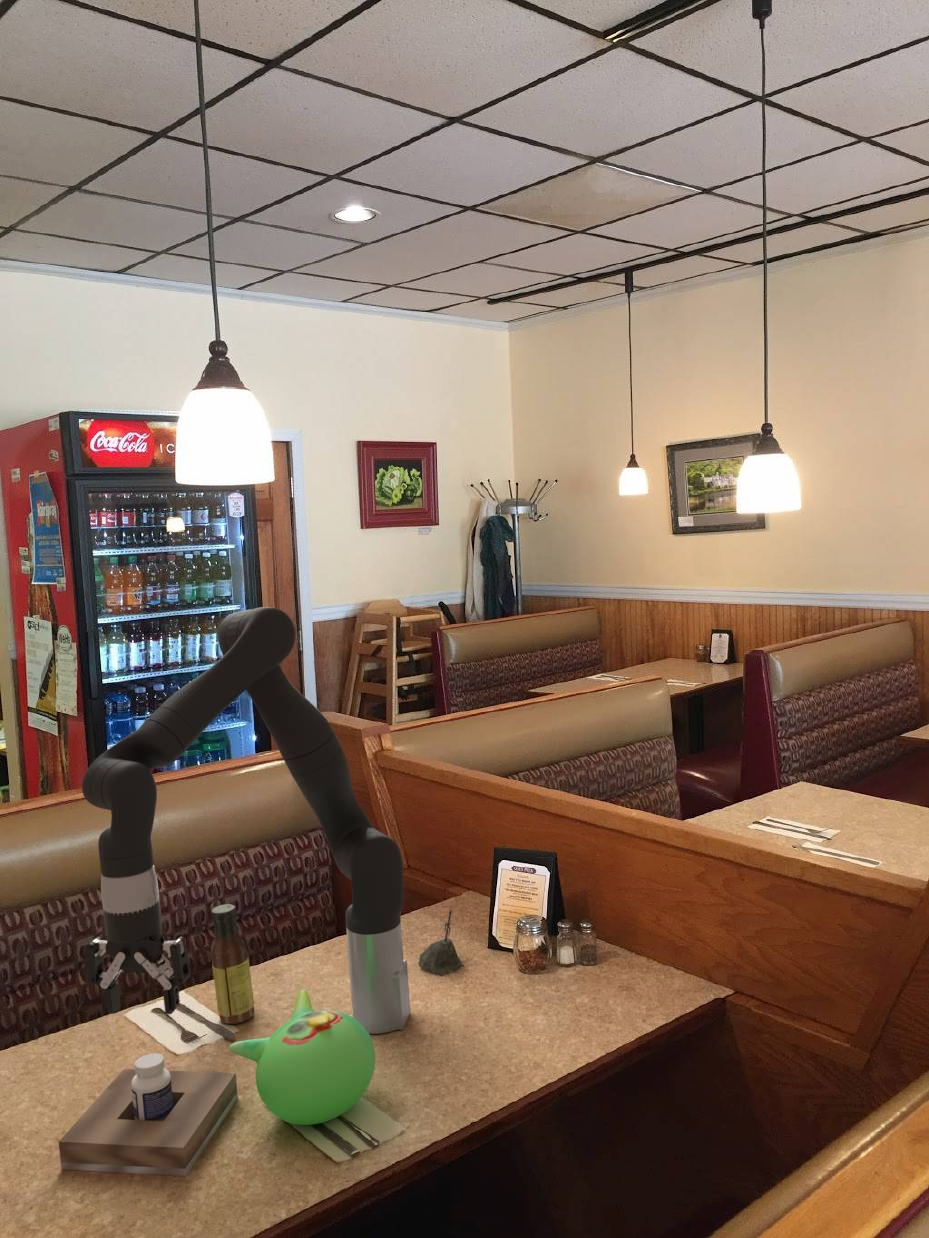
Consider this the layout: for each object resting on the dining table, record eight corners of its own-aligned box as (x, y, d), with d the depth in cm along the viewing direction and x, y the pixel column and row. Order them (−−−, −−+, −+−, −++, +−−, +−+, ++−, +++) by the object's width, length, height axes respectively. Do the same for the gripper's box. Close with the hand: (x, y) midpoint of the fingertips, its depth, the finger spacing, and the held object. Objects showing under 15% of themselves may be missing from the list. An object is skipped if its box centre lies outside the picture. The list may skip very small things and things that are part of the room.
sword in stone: (408, 962, 196) (406, 901, 195) (442, 952, 201) (441, 892, 200) (435, 980, 188) (433, 917, 187) (471, 969, 192) (469, 907, 191)
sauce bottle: (259, 1008, 181) (250, 900, 179) (248, 1026, 175) (239, 914, 173) (223, 1008, 182) (214, 901, 179) (211, 1026, 175) (201, 915, 173)
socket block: (237, 1098, 153) (235, 1072, 152) (186, 1176, 135) (183, 1147, 135) (126, 1093, 156) (123, 1068, 156) (61, 1169, 138) (58, 1141, 138)
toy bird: (321, 1161, 137) (313, 1057, 135) (230, 1127, 146) (221, 1029, 144) (400, 1092, 152) (393, 998, 150) (312, 1065, 161) (305, 976, 159)
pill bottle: (182, 1116, 147) (176, 1052, 146) (160, 1139, 142) (153, 1072, 141) (151, 1111, 149) (145, 1048, 148) (127, 1133, 144) (121, 1068, 143)
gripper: (190, 890, 144) (201, 999, 146) (97, 890, 147) (109, 997, 149) (166, 911, 137) (178, 1025, 139) (69, 911, 139) (82, 1023, 141)
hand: (142, 1011), depth 144 cm, fingers open, 8 cm apart
